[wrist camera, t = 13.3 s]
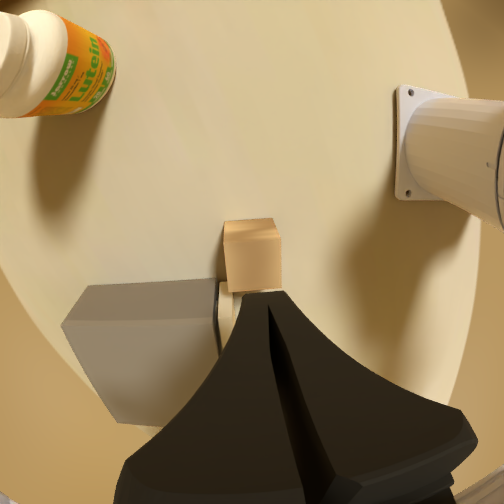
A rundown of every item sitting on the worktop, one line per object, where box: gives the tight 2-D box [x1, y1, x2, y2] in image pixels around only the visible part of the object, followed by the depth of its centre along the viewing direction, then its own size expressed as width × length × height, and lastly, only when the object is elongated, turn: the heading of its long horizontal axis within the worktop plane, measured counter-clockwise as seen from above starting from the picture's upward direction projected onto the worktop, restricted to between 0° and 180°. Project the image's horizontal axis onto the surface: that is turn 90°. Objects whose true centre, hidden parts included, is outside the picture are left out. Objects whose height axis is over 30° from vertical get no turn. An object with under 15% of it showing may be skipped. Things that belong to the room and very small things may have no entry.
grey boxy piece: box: [61, 278, 219, 427], centre depth 20 cm, size 10×11×5 cm
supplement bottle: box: [0, 10, 116, 118], centre depth 9 cm, size 5×5×10 cm
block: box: [223, 218, 281, 292], centre depth 18 cm, size 3×3×4 cm
